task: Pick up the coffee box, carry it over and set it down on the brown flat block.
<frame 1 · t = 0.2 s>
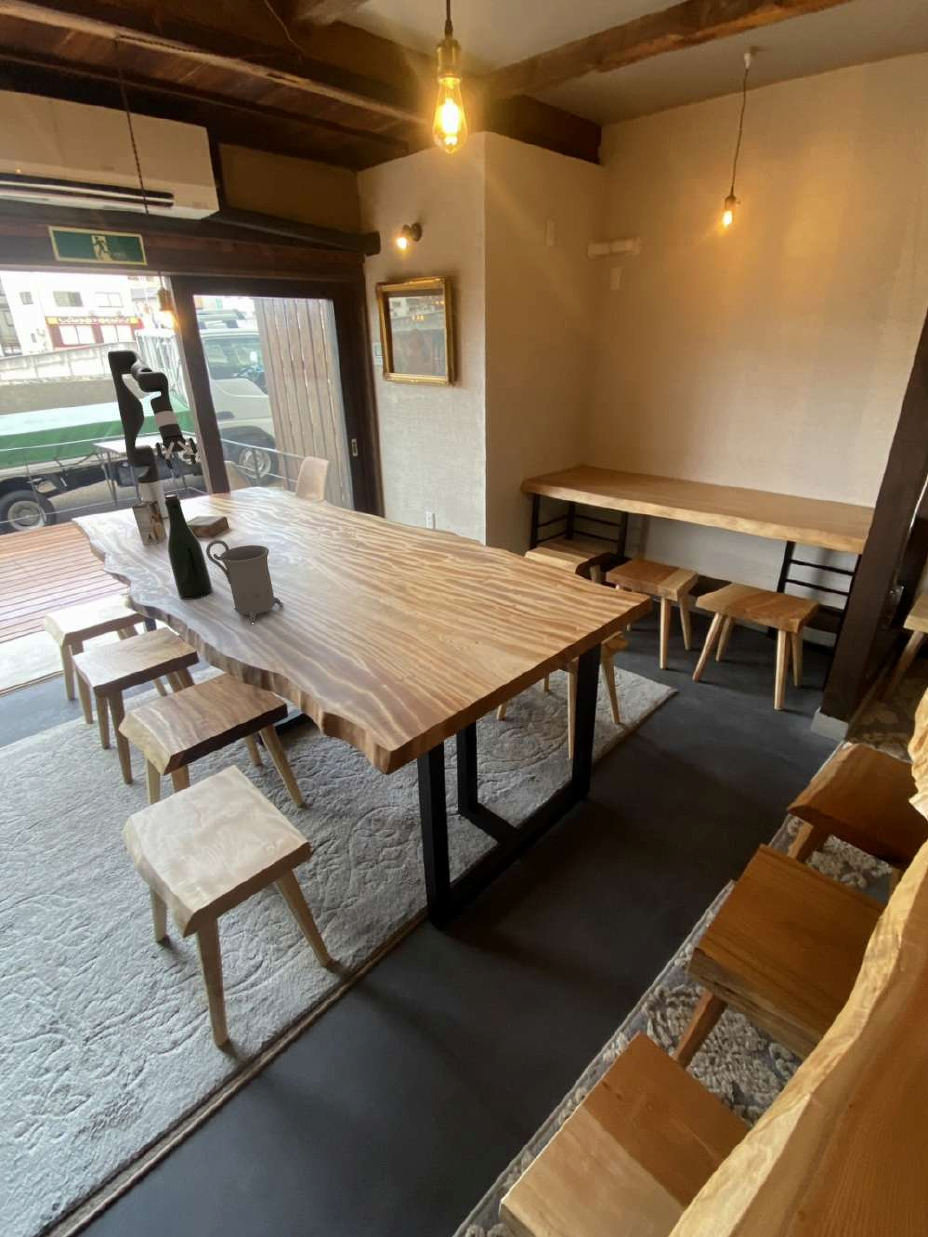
hand: (183, 467, 231), 31 cm above the table, tool tilted 20°, fingers open, 8 cm apart
beer bottle: (196, 594, 196), on the table
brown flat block: (206, 532, 257), on the table
mug: (254, 614, 180), on the table
coffee box: (155, 541, 250), on the table
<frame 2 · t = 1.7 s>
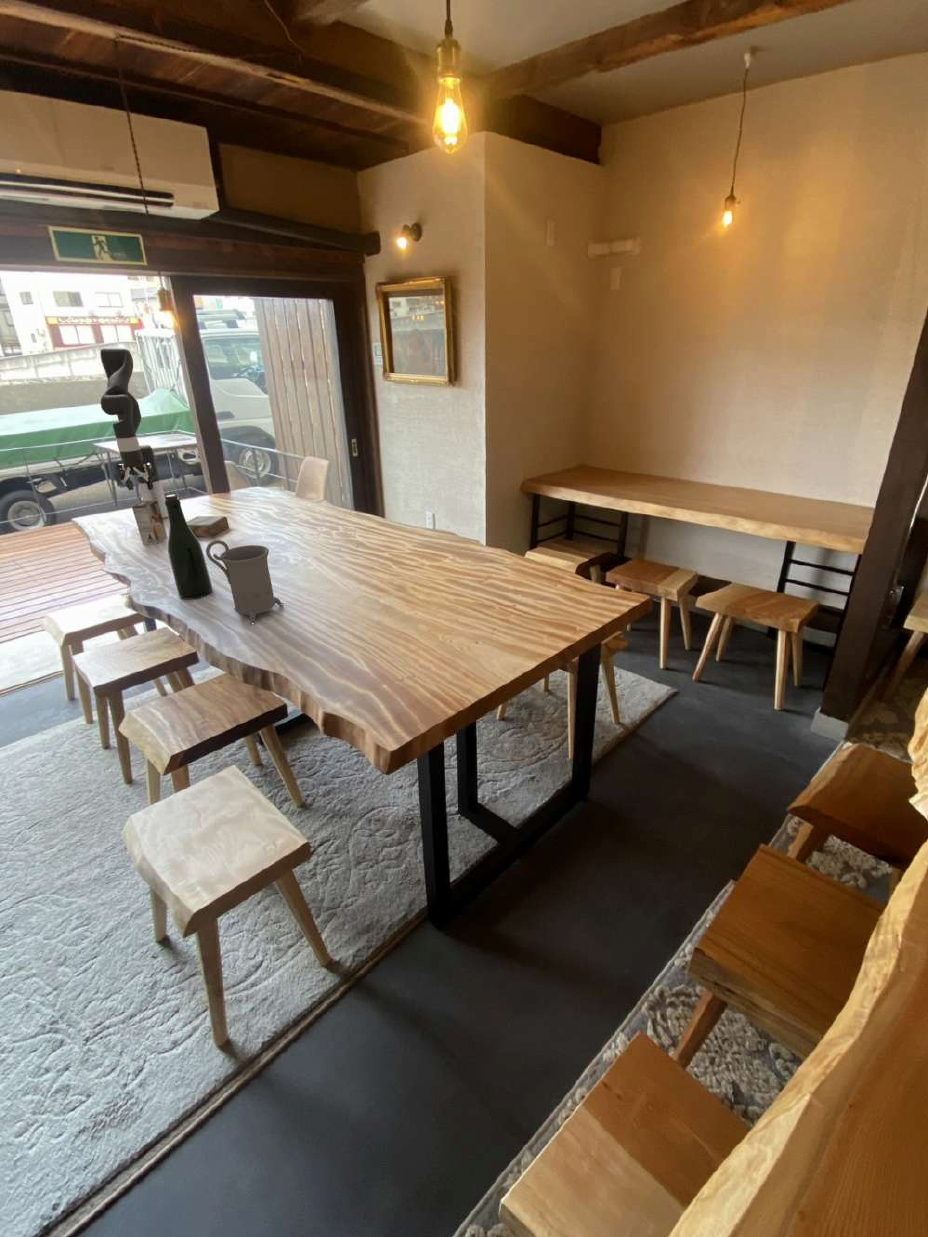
hand: (141, 489, 240), 22 cm above the table, tool pointing down, fingers open, 8 cm apart
nothing on the table moved.
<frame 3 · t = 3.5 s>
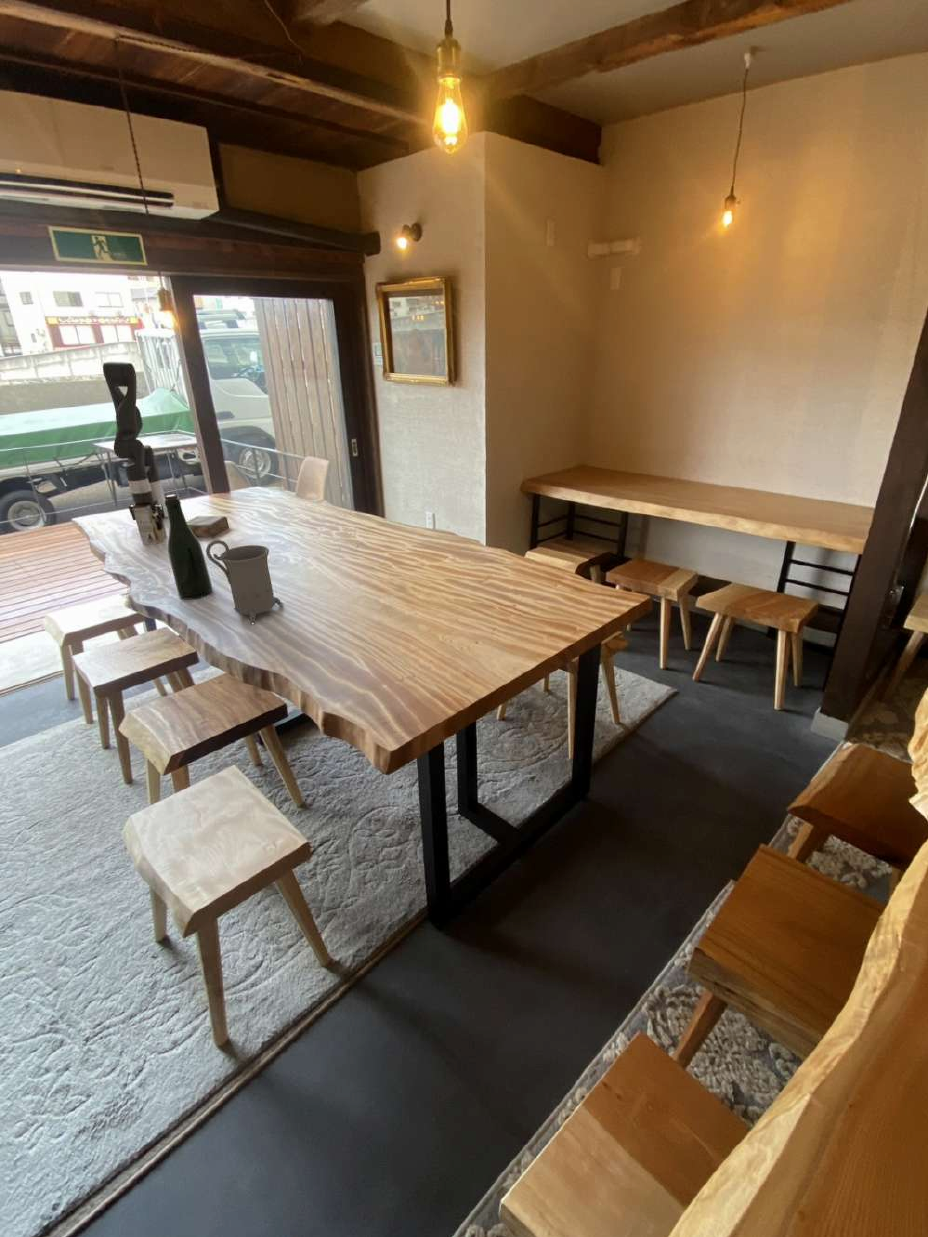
hand: (152, 529, 248), 5 cm above the table, tool pointing down, fingers closed on coffee box, 6 cm apart
coffee box: (155, 541, 250), on the table, touching gripper
everything else where it was.
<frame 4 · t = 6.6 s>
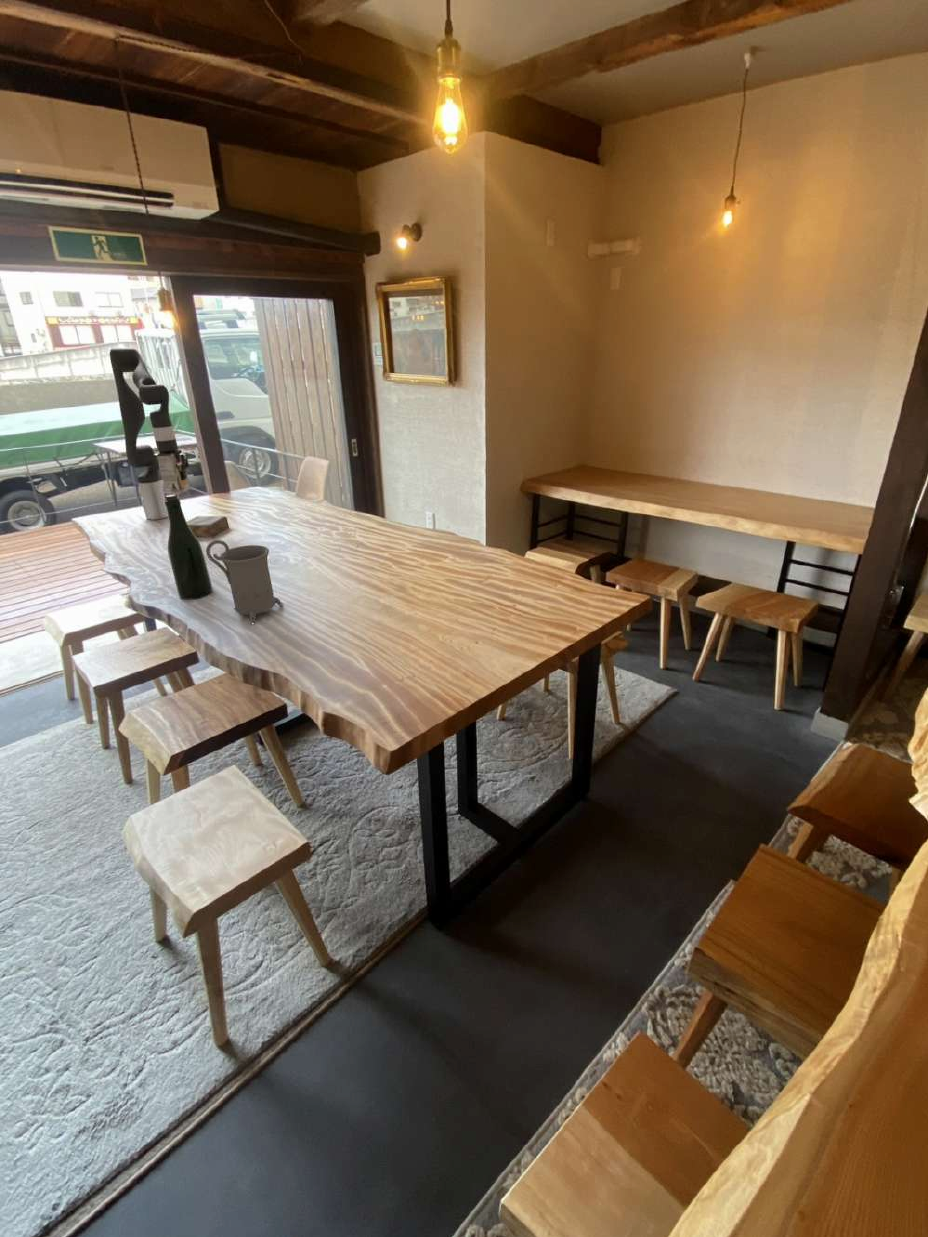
hand: (175, 479, 244), 24 cm above the table, tool pointing down, fingers closed on coffee box, 6 cm apart
coffee box: (178, 492, 246), point 19 cm above the table, touching gripper
everything else where it was.
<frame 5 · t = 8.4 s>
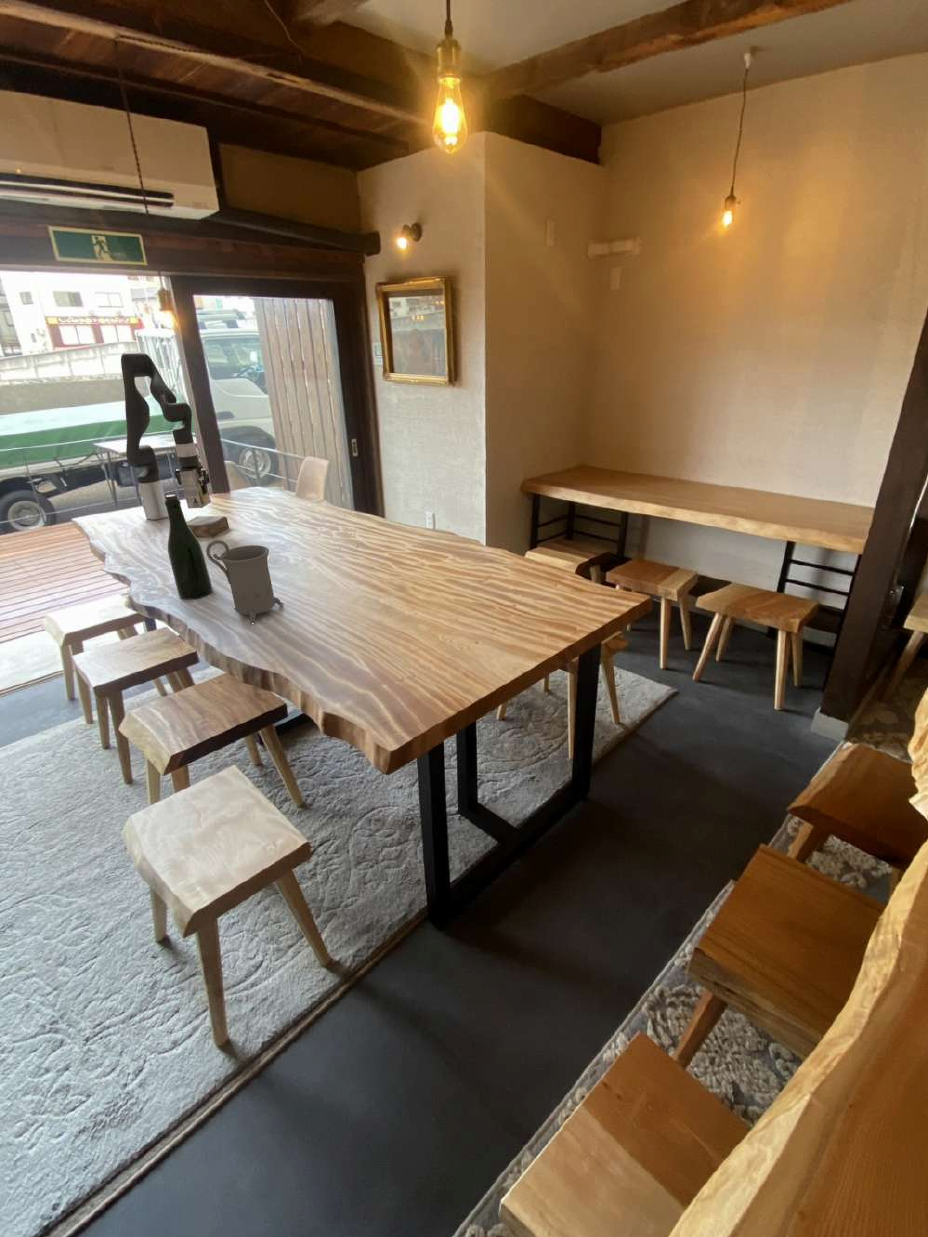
hand: (197, 494, 250), 17 cm above the table, tool pointing down, fingers closed on coffee box, 6 cm apart
coffee box: (199, 506, 252), point 12 cm above the table, touching gripper
everything else where it was.
when the fingers open (12 cm above the table, at t = 10.0 s): coffee box drops 1 cm, resting on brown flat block.
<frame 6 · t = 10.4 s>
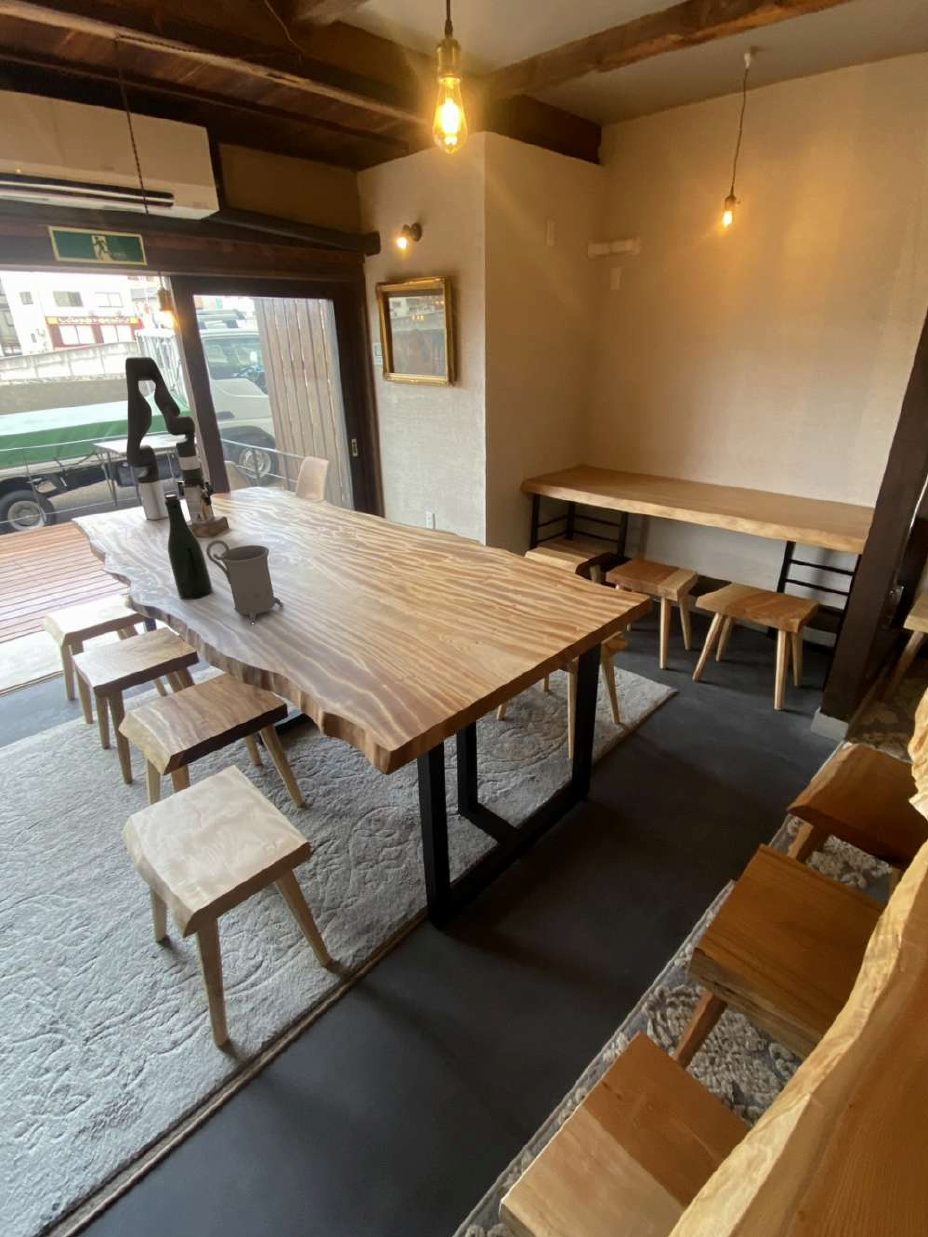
hand: (199, 505, 252), 12 cm above the table, tool pointing down, fingers open, 8 cm apart
coffee box: (203, 521, 255), point 5 cm above the table, touching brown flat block
everything else where it was.
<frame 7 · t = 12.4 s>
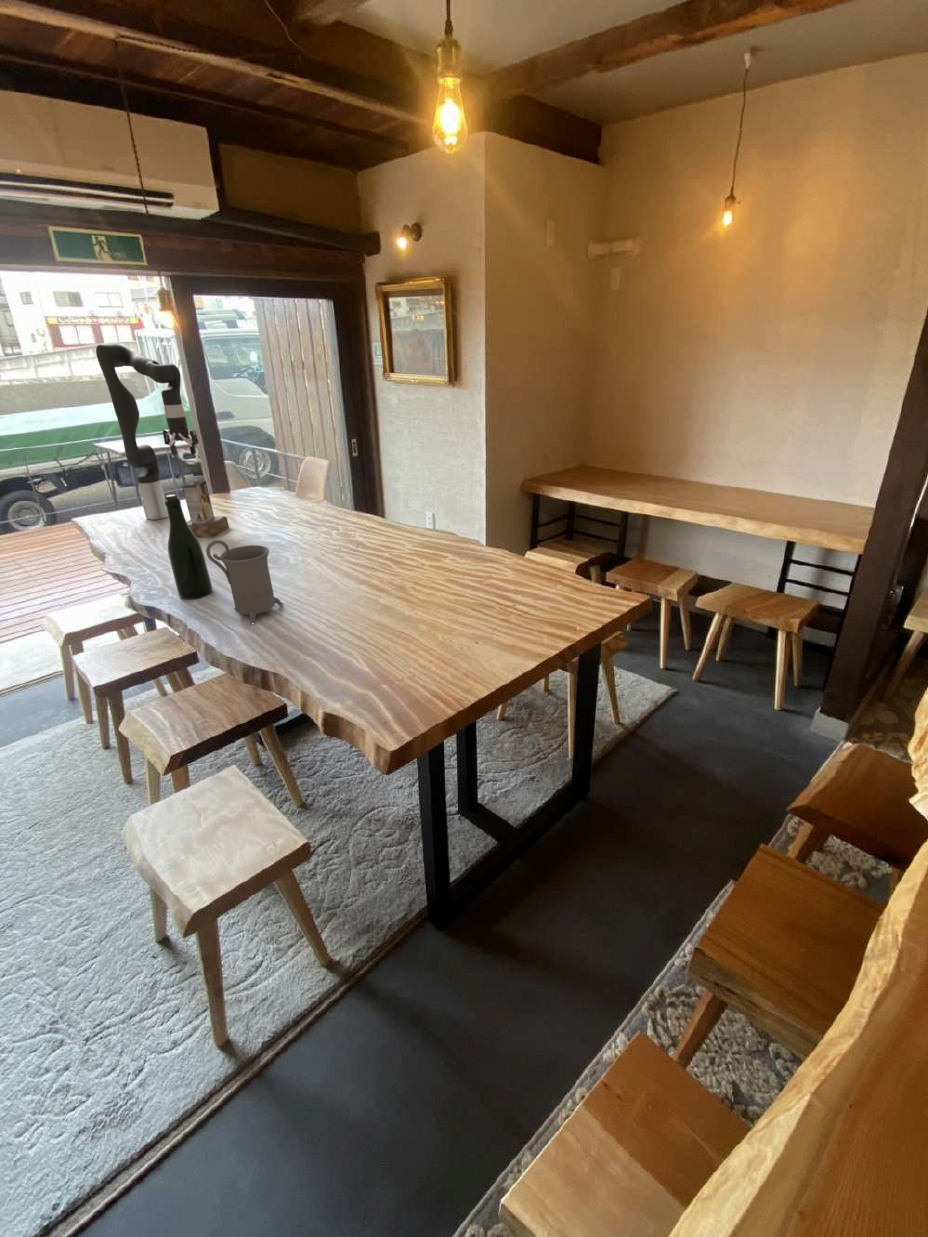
hand: (184, 454, 257), 31 cm above the table, tool pointing down, fingers open, 8 cm apart
nothing on the table moved.
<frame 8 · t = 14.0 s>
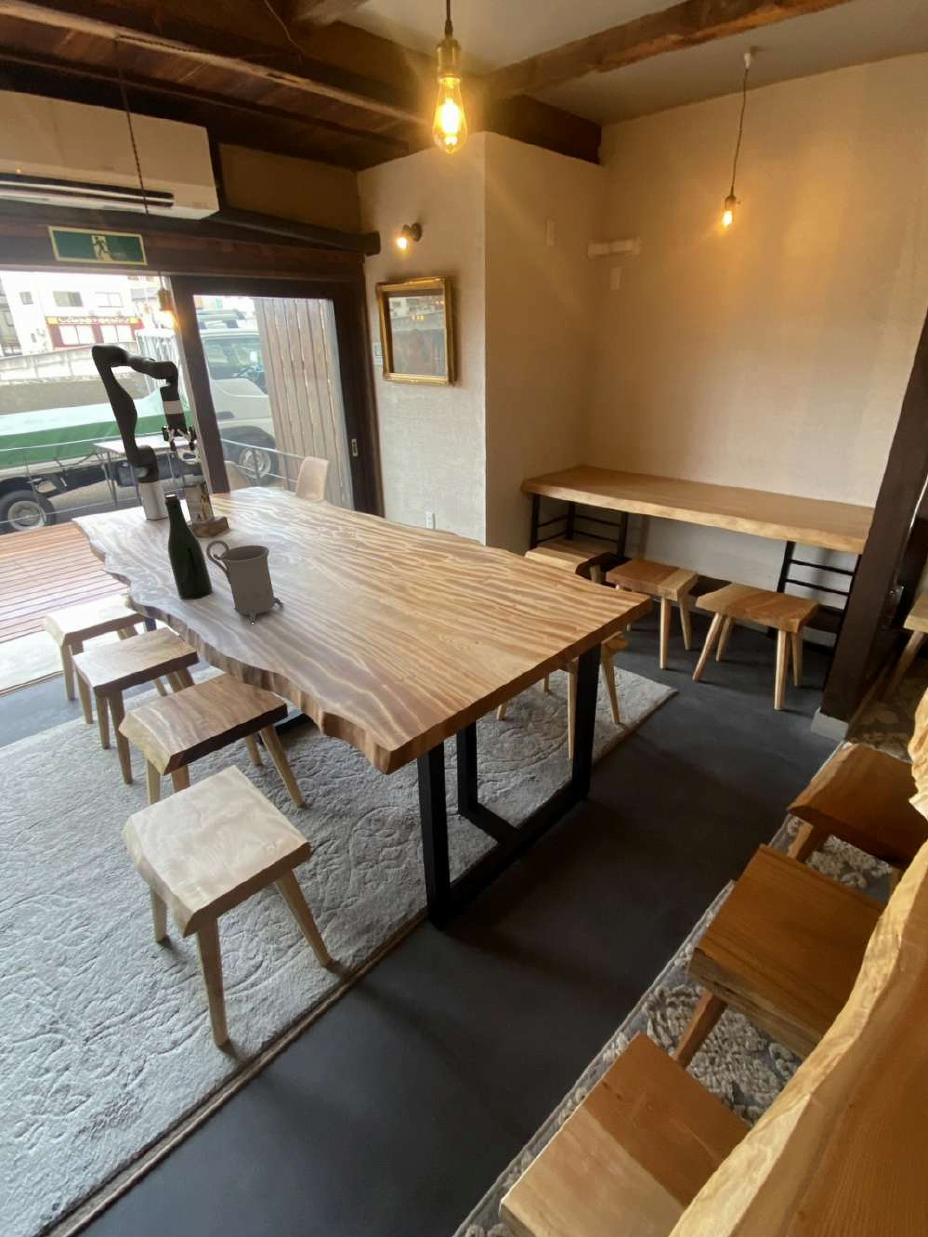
hand: (183, 450, 258), 32 cm above the table, tool pointing down, fingers open, 8 cm apart
nothing on the table moved.
at the end: coffee box inside the target area on the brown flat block (0.1 cm from its centre), point 5.2 cm above the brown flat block's base; coffee box tilted 0°; the gripper is holding nothing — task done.
